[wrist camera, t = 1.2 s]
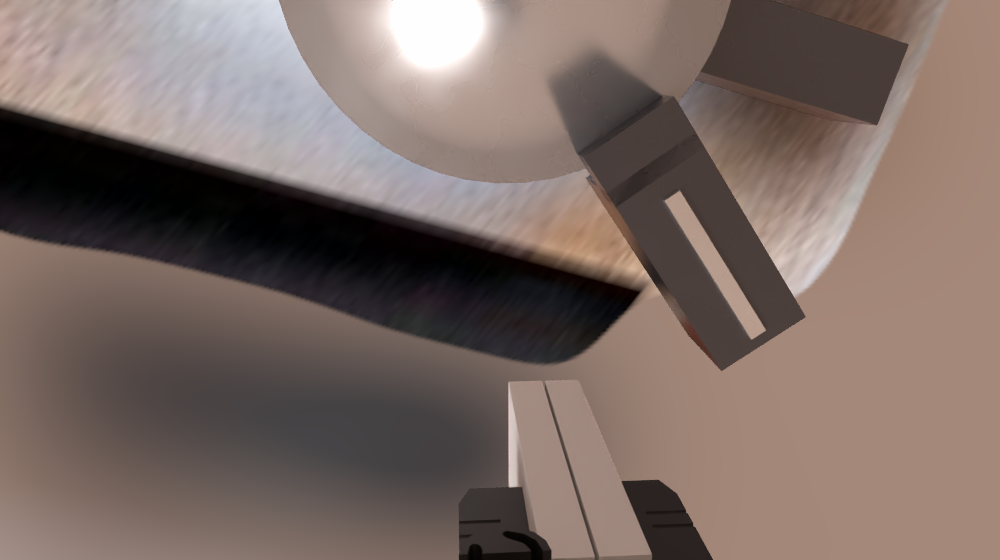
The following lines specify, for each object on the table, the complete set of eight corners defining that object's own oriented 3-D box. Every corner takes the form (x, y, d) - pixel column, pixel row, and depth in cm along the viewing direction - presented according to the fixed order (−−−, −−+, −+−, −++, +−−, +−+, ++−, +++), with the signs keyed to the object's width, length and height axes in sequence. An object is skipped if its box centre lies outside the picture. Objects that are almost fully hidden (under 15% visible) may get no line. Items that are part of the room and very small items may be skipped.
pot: (372, -245, 31) (345, -352, 24) (876, -74, 34) (999, -119, 26) (299, 99, 35) (255, 105, 27) (764, 229, 37) (845, 267, 30)
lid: (565, -393, 24) (590, -499, 20) (887, 205, 30) (962, 226, 26) (194, -106, 26) (140, -145, 21) (568, 412, 32) (587, 466, 27)
